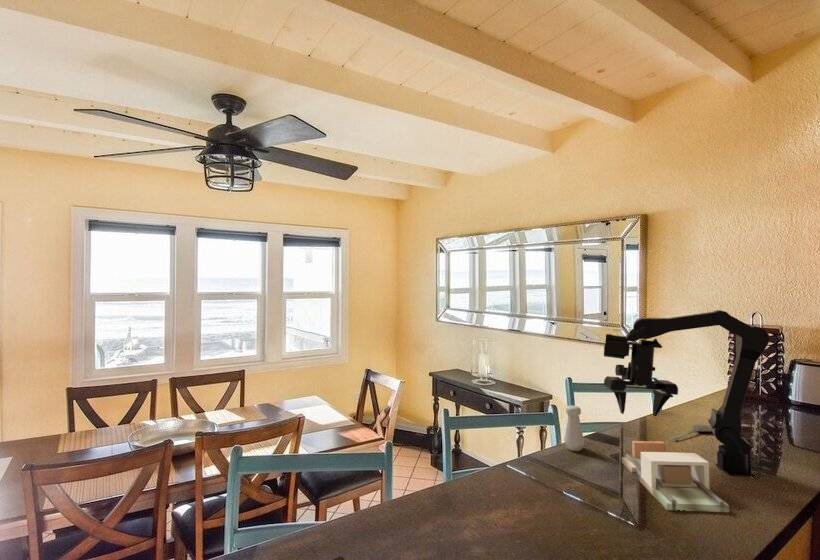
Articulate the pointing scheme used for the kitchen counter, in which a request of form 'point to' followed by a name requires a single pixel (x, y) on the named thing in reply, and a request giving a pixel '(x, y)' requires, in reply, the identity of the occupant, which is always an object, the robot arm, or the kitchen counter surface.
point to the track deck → (680, 493)
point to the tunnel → (672, 458)
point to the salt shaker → (573, 429)
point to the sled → (664, 466)
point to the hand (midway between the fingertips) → (638, 414)
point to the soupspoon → (696, 427)
